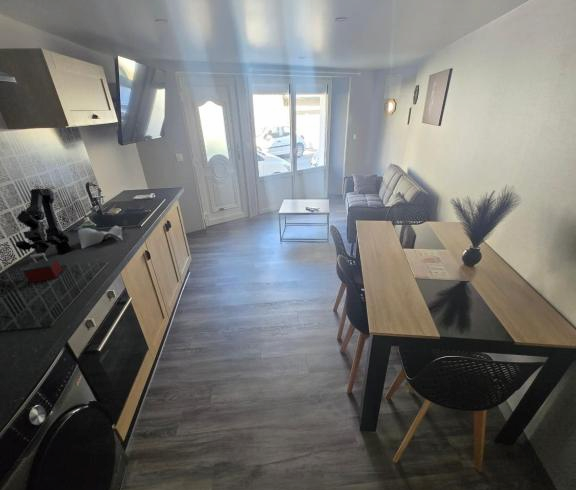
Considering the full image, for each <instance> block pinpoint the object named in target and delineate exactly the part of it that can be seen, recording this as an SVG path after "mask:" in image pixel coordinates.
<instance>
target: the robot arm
mask: <svg viewBox="0 0 576 490" xmlns="http://www.w3.org/2000/svg"><path fill="white" fill-rule="evenodd" d="M54 195H55V194H54V191H53V190H52V189H50V188H32V189H30V203H29V206H28V207H27V208H26V209H25V210H21V212H20V213H19V214H18V215H17V221H18V222H20V223H21V224H23V225H24V226H25V227H27V228H29V230H27V231H23V232H22V233H23V236H24V239H27V240H28V241H27V240H17V241H16V242H15V248H16V247H17V248H18V249H20V250H21V251H28V250H31V249H33V250H34V251H35V253H36V254H40V253H44V254H46V251H47V250H48V249H49V248H50V245H49V244H51V246H53V245H54V248H55V250H56V252H57V253H58V254H61V255H64V254H67V253H69V252H72V251H74V249H73V248H71V246H70V243H69V242H70V238H69V236H68V235H66V234H65V233H64V231H63V230H62V229H61V228H60V227H59V224H58V221H57V217H56V213H55V210H54V206H53V203H54V202H55V196H54ZM42 209H43V210H42ZM45 219H46V223H47V228H46V229H45V230H44V228H45V224H44V223H43V222H42V221H43V220H45ZM41 258H44V257H43V256H42V257H39V259H41Z"/></svg>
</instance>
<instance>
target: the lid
mask: <svg viewBox="0 0 576 490" xmlns="http://www.w3.org/2000/svg"><path fill="white" fill-rule="evenodd" d="M42 256H43V257H42ZM40 257H42V258H43V259H40V260H36V258H40ZM30 258H31V259H32V260H33V261H29V263H28V264H27V265H26V267H24V269H23V270H22V273H24V272H27V271H32V270H38V269H43V268H49V267H51V266H52V265H53V263H54V262H55V261H56V259H57V260H58V258H57V257H52V258H47V257H46V253H40V254H37V253H35V254H30Z"/></svg>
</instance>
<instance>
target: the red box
mask: <svg viewBox="0 0 576 490" xmlns="http://www.w3.org/2000/svg"><path fill="white" fill-rule="evenodd" d="M62 271H63V268H62V266H61V264H60V263H59V261H58V258H57V259H56V261H55V262H54V263H53V265H52V266H51V267H49V268H43V269H38V270H32V271H27V272H23V274H24V275H25V277H26V279H27V280H28V282H29V284H30V283H31V284H32V283H37V282H41V281H42V282H43V281H47V280H52V279H57V278H58V277H59V275H60V274H61V272H62Z"/></svg>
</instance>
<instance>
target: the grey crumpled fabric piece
mask: <svg viewBox="0 0 576 490" xmlns="http://www.w3.org/2000/svg"><path fill="white" fill-rule="evenodd" d="M122 231H123V232H124V233H126V231H125V229H124V228H123V227H122V226H119V225H114V226H112V227H111V228H110V229H109V230H108V232H107V231H98V230H97V229H93V228H90V227H84V228H81V229H78V230H77V232H78V238H79V243H80V247H81V249H82V250H83V249H85V248H88V247H90V246H93V245H97V244H100V243H101V242H102V241H103V240H105V241H107V240H108V237H109V236H110V237H112V238H113V239H114V240H115V241H119V239H120V240H122V241H124V238H123V233H122Z"/></svg>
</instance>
